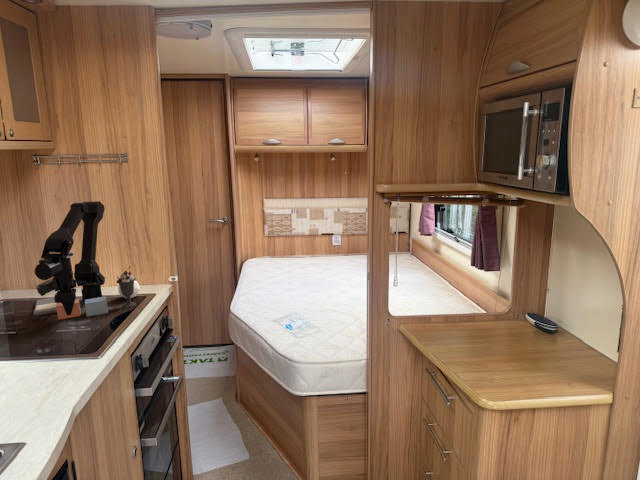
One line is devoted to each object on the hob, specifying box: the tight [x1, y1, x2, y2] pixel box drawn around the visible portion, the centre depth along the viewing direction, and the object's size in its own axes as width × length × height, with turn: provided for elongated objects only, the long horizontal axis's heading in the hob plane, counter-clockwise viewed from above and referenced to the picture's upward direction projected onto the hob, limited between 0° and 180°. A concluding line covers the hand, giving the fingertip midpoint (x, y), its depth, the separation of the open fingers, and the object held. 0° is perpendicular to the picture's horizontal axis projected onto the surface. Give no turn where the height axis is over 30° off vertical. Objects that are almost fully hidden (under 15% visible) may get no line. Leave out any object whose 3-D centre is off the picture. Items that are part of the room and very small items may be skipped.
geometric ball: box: [117, 280, 140, 299], centre depth 176 cm, size 8×8×8 cm
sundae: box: [116, 265, 137, 309], centre depth 167 cm, size 7×7×15 cm
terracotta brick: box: [56, 298, 82, 320], centre depth 159 cm, size 7×5×5 cm, turn 118°
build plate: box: [33, 297, 57, 317], centre depth 169 cm, size 9×16×1 cm, turn 27°
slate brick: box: [84, 296, 109, 317], centre depth 162 cm, size 7×5×5 cm, turn 117°
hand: (69, 312), depth 160 cm, fingers closed on terracotta brick, 5 cm apart
